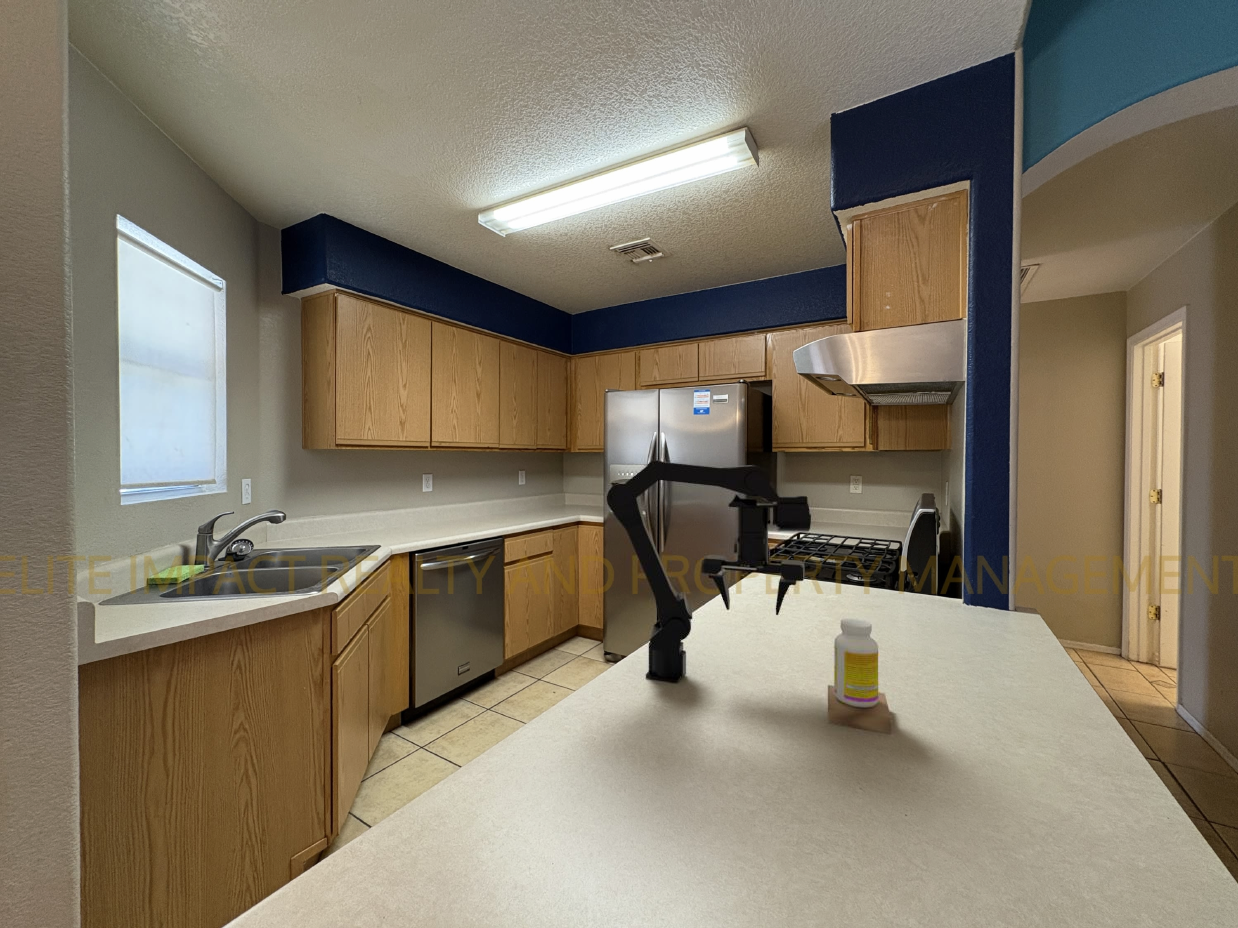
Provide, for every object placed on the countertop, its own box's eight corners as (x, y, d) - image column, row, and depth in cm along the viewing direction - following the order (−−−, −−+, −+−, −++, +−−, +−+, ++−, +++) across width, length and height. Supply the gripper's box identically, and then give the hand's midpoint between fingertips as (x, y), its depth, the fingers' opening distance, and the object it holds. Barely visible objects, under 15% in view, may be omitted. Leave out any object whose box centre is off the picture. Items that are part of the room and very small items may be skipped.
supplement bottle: (887, 706, 84) (888, 626, 84) (853, 711, 82) (853, 630, 82) (858, 688, 91) (858, 614, 90) (825, 693, 89) (825, 617, 89)
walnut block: (827, 722, 84) (828, 707, 84) (827, 698, 92) (827, 684, 92) (890, 733, 80) (890, 717, 80) (884, 707, 89) (884, 693, 89)
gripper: (805, 528, 104) (805, 606, 104) (712, 523, 111) (712, 596, 111) (803, 535, 94) (803, 622, 94) (700, 530, 101) (700, 611, 101)
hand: (752, 611), depth 100 cm, fingers open, 9 cm apart
